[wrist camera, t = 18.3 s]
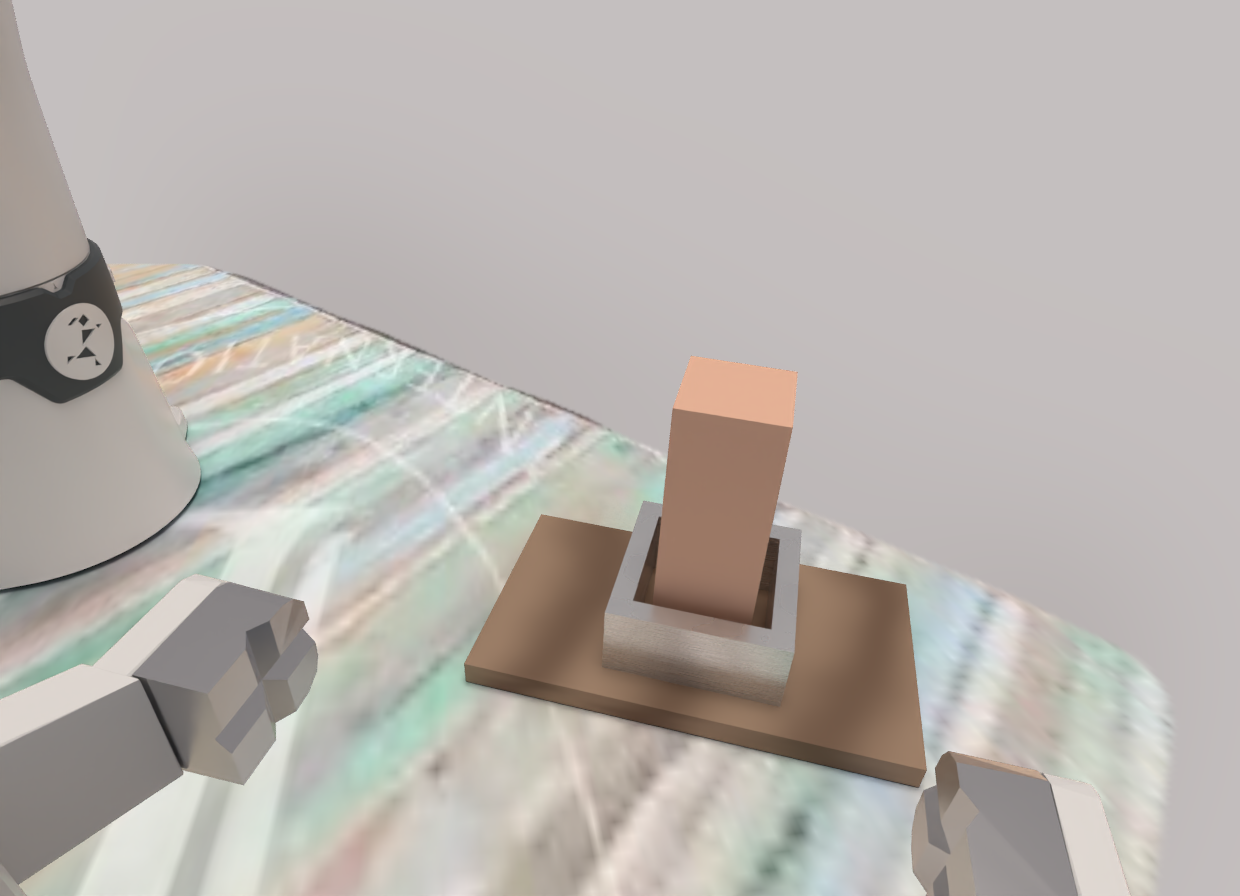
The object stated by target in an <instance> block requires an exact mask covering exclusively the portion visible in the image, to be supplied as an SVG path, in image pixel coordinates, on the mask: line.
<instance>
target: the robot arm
mask: <svg viewBox="0 0 1240 896" xmlns="http://www.w3.org/2000/svg"><path fill="white" fill-rule="evenodd" d="M113 282H115V280H114V277H113V274H112V272H111V269H110V268H109V266H108V265H107V264H106V263H105V260H104V258H103V255H102V253H101V250H100V248H99V247H98V245H97V244H96V243H94V242H93V241H91V240H90V239H88V238H86V235H85V232H84V229H83V226H82V224H81V221H80V218H79V215H78V212H77V209H76V207H75V204H74V201H73V199H72V195H71V192H70V190H69V187H68V184H67V181H66V179H65V176H64V173H63V170H62V167H61V164H60V162H59V159H58V156H57V153H56V150H55V147H54V144H53V141H52V138H51V136H50V133H49V130H48V127H47V124H46V122H45V119H44V116H43V113H42V110H41V108H40V104H39V102H38V99H37V96H36V93H35V90H34V87H33V84H32V81H31V78H30V74H29V71H28V68H27V64H26V61H25V57H24V54H23V49H22V45H21V41H20V36H19V32H18V27H17V23H16V18H15V13H14V9H13V5H12V0H0V590H1V589H6V588H12V587H17V586H23V585H28V584H33V583H38V582H42V581H46V580H50V579H54V578H58V577H61V576H65V575H68V574H71V573H74V572H77V571H80V570H83V569H86V568H88V567H91V566H94V565H96V564H99V563H101V562H103V561H106V560H108V559H110V558H112V557H115V556H117V555H119V554H121V553H123V552H125V551H127V550H129V549H130V548H132V547H134V546H136V545H138V544H139V543H141V542H143V541H144V540H146V539H147V538H149V537H150V536H152V535H153V534H155V533H156V532H158V531H159V530H160V529H162V528H163V527H164V526H166V525H167V524H168V523H169V522H170V521H172V520H173V519H174V518H175V517H176V516H177V515H178V514H179V513H180V512H181V511H182V510H183V509H184V507H185V506H186V505H187V504H188V503H189V501H190V500H191V498H192V497H193V495H194V493H195V492H196V489H197V487H198V484H199V481H200V476H201V469H200V464H199V461H198V459H197V457H196V455H195V454H194V452H193V451H192V449H191V448H190V447H189V445H188V443H187V442H186V440H185V437H186V432H187V421H186V419H185V417H184V415H183V413H182V411H181V409H179V408H178V407H175V406H170V405H169V404H168V402H167V399H166V397H165V395H164V393H163V391H162V389H161V387H160V384H159V382H158V380H157V378H156V376H155V374H154V372H153V369H152V367H151V365H150V363H149V361H148V359H147V357H146V355H145V353H144V351H143V349H142V347H141V344H140V342H139V340H138V338H137V336H136V334H135V332H134V330H133V328H132V327H131V325H130V324H129V323H128V322H127V321H126V320H125V319H123V318H121V316H122V306H121V303H120V300H119V297H118V295H117V292H116V289H115V286H114V283H113ZM308 620H309V617H308V613H307V610H306V607H305V604H304V601H300V600H296V599H292V598H289V597H285V596H281V595H277V594H273V593H269V592H266V591H262V590H258V589H254V588H250V587H246V586H243V585H239V584H235V583H232V582H228V581H223V580H219V579H215V578H211V577H207V576H203V575H199V574H194V575H192V576H190V577H187V578H185V579H183V580H181V581H180V582H179V583H178V584H177V585H176V586H175V587H174V588H173V589H172V590H171V591H170V592H168V593H167V594H166V595H165V596H164V597H163V598H162V599H161V600H160V601H159V602H158V603H157V604H156V605H155V606H154V607H153V608H152V609H151V610H150V611H149V612H148V613H147V614H146V615H145V616H144V617H143V618H142V619H141V620H139V621H138V622H137V623H136V624H135V625H134V626H133V627H132V628H131V629H130V630H129V631H128V632H127V633H126V634H125V635H124V636H123V637H122V638H121V639H120V640H119V641H118V642H117V643H116V644H115V645H114V646H113V647H112V648H110V649H109V650H108V651H107V652H106V653H105V654H104V655H103V656H102V657H101V658H100V659H99V660H98V661H97V662H96V663H95V664H94V665H93V666H90V665H85V664H80V665H78V666H76V667H73V668H71V669H69V670H67V671H64V672H62V673H60V674H57V675H55V676H53V677H51V678H48V679H46V680H44V681H41V682H39V683H37V684H35V685H32V686H30V687H28V688H25V689H23V690H21V691H19V692H16V693H14V694H12V695H9V696H7V697H5V698H3V699H0V896H27V895H26V894H25V893H24V892H23V890H22V889H21V888H20V887H19V884H20V883H22V882H23V881H25V880H26V879H28V878H29V877H31V876H32V875H34V874H35V873H37V872H38V871H40V870H41V869H43V868H44V867H46V866H47V865H49V864H50V863H52V862H53V861H55V860H56V859H58V858H59V857H61V856H62V855H64V854H65V853H67V852H68V851H70V850H71V849H73V848H74V847H76V846H77V845H79V844H80V843H82V842H83V841H85V840H86V839H88V838H89V837H90V836H92V835H93V834H95V833H96V832H98V831H99V830H101V829H102V828H104V827H105V826H107V825H108V824H110V823H111V822H113V821H114V820H116V819H117V818H119V817H120V816H122V815H123V814H125V813H126V812H128V811H129V810H131V809H132V808H134V807H135V806H137V805H138V804H140V803H141V802H143V801H144V800H146V799H147V798H149V797H150V796H152V795H153V794H155V793H156V792H158V791H159V790H161V789H162V788H164V787H165V786H167V785H168V784H170V783H171V782H173V781H174V780H176V779H177V778H179V777H180V776H182V775H183V771H182V770H185V771H189V772H193V773H197V774H201V775H205V776H209V777H213V778H217V779H221V780H225V781H229V782H233V783H237V784H241V785H244V784H245V783H246V781H247V780H248V779H249V777H250V776H251V774H252V773H253V772H254V770H255V769H256V767H257V766H258V765H259V763H260V762H261V760H262V759H263V758H264V756H265V755H266V753H267V752H268V750H269V749H270V748H271V746H272V745H273V743H274V742H275V741H276V725H275V723H276V722H278V721H279V720H281V719H283V718H285V717H287V716H288V715H290V714H292V713H294V712H295V711H297V709H298V708H299V706H300V705H301V703H302V702H303V700H304V699H305V697H306V696H307V694H308V693H309V691H310V688H311V685H312V683H313V680H314V677H315V675H316V672H317V662H318V653H317V648H316V644H315V641H314V640H313V639H312V638H311V637H310V636H309V635H308V634H307V633H306V632H305V631H304V630H303V629H302V628H303V627H304V625H305V624H306V623H307V621H308ZM935 773H936V783H937V785H936V786H933V787H931V788H929V789H926V790H924V791H923V793H922V795H921V798H920V800H919V802H918V804H917V807H916V810H915V816H914V821H913V826H912V843H911V852H912V867H913V873H914V874H915V876H916V877H917V879H918V880H919V882H920V883H921V885H922V886H923V888H924V889H925V891H926V892H927V894H926V896H1131V894H1130V891H1129V888H1128V884H1127V881H1126V878H1125V875H1124V872H1123V869H1122V865H1121V862H1120V859H1119V856H1118V853H1117V850H1116V846H1115V843H1114V840H1113V837H1112V834H1111V831H1110V827H1109V824H1108V821H1107V818H1106V815H1105V811H1104V808H1103V805H1102V802H1101V799H1100V796H1099V794H1098V793H1097V791H1096V790H1095V789H1094V787H1093V786H1092V785H1091V784H1087V783H1084V782H1080V781H1076V780H1071V779H1067V778H1062V777H1058V776H1053V775H1049V774H1044V773H1039V772H1038V771H1037V770H1033V769H1028V768H1023V767H1019V766H1014V765H1010V764H1005V763H1001V762H996V761H992V760H987V759H983V758H978V757H973V756H969V755H964V754H960V753H955V752H951V751H948V752H947V753H945V754H943V755H942V756H941V758H940V760H939V762H938V764H937V765H936V767H935Z"/></svg>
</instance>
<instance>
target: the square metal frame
mask: <svg viewBox="0 0 1240 896" xmlns="http://www.w3.org/2000/svg"><path fill="white" fill-rule="evenodd" d="M662 507H663V504H658V503H653V502H647V501H643V504H642V506H641V509H640V512H639V515H638V518H637V521H636V524H635V527H634V530H633V532H632V535H631V538H630V541H629V544H628V547H627V550H626V553H625V556H624V559H623V561H622V564H621V567H620V570H619V573H618V576H617V579H616V582H615V585H614V587H613V590H612V593H611V596H610V599H609V602H608V605H607V608H606V611H605V619H604V637H603V656H602V667H604V668H609V669H613V670H618V671H622V672H627V673H631V674H636V675H640V676H644V677H649V678H653V679H658V680H662V681H667V682H671V683H676V684H680V685H685V686H689V687H694V688H698V689H702V690H707V691H711V692H716V693H720V694H725V695H729V696H734V697H738V698H743V699H747V700H751V701H756V702H760V703H765V704H769V705H774V706H778V707H780V705H781V701H782V698H783V694H784V690H785V686H786V682H787V679H788V675H789V671H790V667H791V664H792V660H793V656H794V651H795V634H796V617H797V599H798V582H799V564H800V547H801V530H798V529H793V528H788V527H782V526H777V525H772V528H771V533H770V537H769V542H768V547H767V552H766V556H765V561H764V566H763V570H762V575H761V580H760V585H759V589H761V590H766V591H768V600H767V610H766V619H765V628H761V627H756V626H752V625H747V624H742V623H737V622H732V621H727V620H723V619H718V618H713V617H708V616H703V615H699V614H694V613H689V612H684V611H679V610H675V609H670V608H665V607H660V606H655V605H651V604H646V603H644V600H645V596H646V593H647V589H648V586H649V582H650V579H651V575H652V572H653V569H654V568H656V566H657V556H658V546H659V536H660V527H661V517H662Z"/></svg>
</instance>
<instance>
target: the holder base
mask: <svg viewBox="0 0 1240 896" xmlns="http://www.w3.org/2000/svg"><path fill="white" fill-rule="evenodd" d="M631 535H632V532H630V531H625V530H620V529H614V528H609V527H604V526H599V525H594V524H588V523H583V522H578V521H573V520H568V519H563V518H557V517H552V516H547V515H542V514H541V516H540V518H539V520H538V522H537V524H536V526H535V528H534V530H533V532H532V534H531V536H530V537H529V539H528V541H527V543H526V545H525V547H524V549H523V551H522V553H521V555H520V557H519V559H518V561H517V563H516V565H515V566H514V568H513V570H512V572H511V574H510V576H509V578H508V580H507V582H506V584H505V586H504V588H503V590H502V592H501V594H500V596H499V597H498V599H497V601H496V603H495V605H494V607H493V609H492V611H491V613H490V615H489V617H488V619H487V621H486V623H485V625H484V626H483V628H482V630H481V632H480V634H479V636H478V638H477V640H476V642H475V644H474V646H473V648H472V650H471V652H470V654H469V656H468V657H467V659H466V661H465V663H464V666H465V676H466V681H467V682H472V683H476V684H480V685H484V686H489V687H493V688H497V689H501V690H506V691H510V692H514V693H518V694H523V695H527V696H531V697H535V698H540V699H544V700H548V701H552V702H557V703H561V704H565V705H570V706H574V707H578V708H582V709H587V710H591V711H595V712H599V713H604V714H608V715H612V716H616V717H621V718H625V719H629V720H633V721H638V722H642V723H646V724H651V725H655V726H659V727H663V728H668V729H672V730H676V731H680V732H685V733H689V734H693V735H697V736H702V737H706V738H710V739H714V740H719V741H723V742H727V743H732V744H736V745H740V746H744V747H749V748H753V749H757V750H761V751H766V752H770V753H774V754H778V755H783V756H787V757H791V758H795V759H800V760H804V761H808V762H813V763H817V764H821V765H825V766H830V767H834V768H838V769H842V770H847V771H851V772H855V773H859V774H864V775H868V776H872V777H876V778H881V779H885V780H889V781H893V782H898V783H902V784H906V785H911V786H915V787H919V786H920V784H921V781H922V779H923V777H924V775H925V773H926V771H927V769H926V760H925V751H924V742H923V733H922V724H921V715H920V706H919V697H918V688H917V679H916V670H915V661H914V652H913V643H912V634H911V625H910V616H909V607H908V598H907V589H906V585H905V584H900V583H895V582H889V581H884V580H879V579H874V578H869V577H864V576H858V575H853V574H848V573H843V572H838V571H832V570H827V569H822V568H817V567H812V566H806V565H801V564H799V582H798V599H797V617H796V634H795V651H794V656H793V660H792V664H791V667H790V671H789V675H788V679H787V682H786V686H785V690H784V694H783V698H782V701H781V705H780V707H778V706H774V705H769V704H765V703H760V702H756V701H751V700H747V699H743V698H738V697H734V696H729V695H725V694H720V693H716V692H711V691H707V690H702V689H698V688H694V687H689V686H685V685H680V684H676V683H671V682H667V681H662V680H658V679H653V678H649V677H644V676H640V675H636V674H631V673H627V672H622V671H618V670H613V669H609V668H604V667H602V656H603V637H604V619H605V611H606V608H607V605H608V602H609V599H610V596H611V593H612V590H613V587H614V585H615V582H616V579H617V576H618V573H619V570H620V567H621V564H622V561H623V559H624V556H625V553H626V550H627V547H628V544H629V541H630V538H631ZM655 575H656V568H654V569H653V572H652V575H651V579H650V582H649V586H648V589H647V593H646V596H645V600H644V603H646V604H651V605H652V604H653V595H654V585H655ZM767 600H768V591H766V590H761V589H758V594H757V599H756V604H755V608H754V613H753V618H752V623H751V625H752V626H756V627H761V628H765V619H766V610H767Z"/></svg>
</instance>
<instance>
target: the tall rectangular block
mask: <svg viewBox="0 0 1240 896" xmlns="http://www.w3.org/2000/svg"><path fill="white" fill-rule="evenodd" d="M796 383H797V372H793V371H788V370H781V369H774V368H768V367H761V366H754V365H748V364H741V363H735V362H728V361H721V360H715V359H708V358H701V357H694V356H691V358H690V361H689V363H688V366H687V369H686V372H685V375H684V378H683V380H682V384H681V386H680V389H679V392H678V395H677V398H676V401H675V403H674V406H673V411H672V421H671V430H670V440H669V449H668V459H667V469H666V478H665V488H664V498H663V507H662V517H661V527H660V536H659V546H658V556H657V566H656V575H655V585H654V595H653V604H652V605H655V606H660V607H665V608H670V609H675V610H679V611H684V612H689V613H694V614H699V615H703V616H708V617H713V618H718V619H723V620H727V621H732V622H737V623H742V624H747V625H751V623H752V618H753V613H754V608H755V604H756V599H757V594H758V589H759V585H760V580H761V575H762V570H763V566H764V561H765V556H766V552H767V547H768V542H769V537H770V533H771V528H772V523H773V518H774V514H775V509H776V504H777V500H778V495H779V490H780V485H781V480H782V476H783V471H784V466H785V462H786V457H787V452H788V447H789V442H790V438H791V433H792V428H793V418H794V406H795V396H796Z"/></svg>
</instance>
